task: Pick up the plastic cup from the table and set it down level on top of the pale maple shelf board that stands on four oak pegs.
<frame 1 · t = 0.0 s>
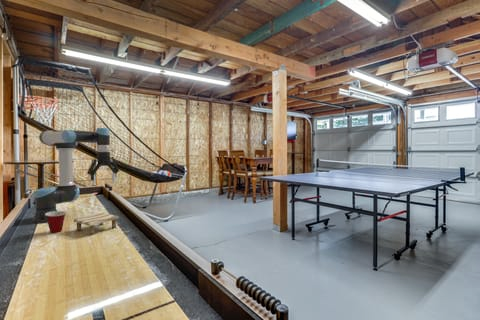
hand: (104, 183, 165), 28 cm above the table, tool pointing down, fingers open, 13 cm apart
plastic cup: (56, 232, 154), on the table
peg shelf: (96, 229, 159), on the table
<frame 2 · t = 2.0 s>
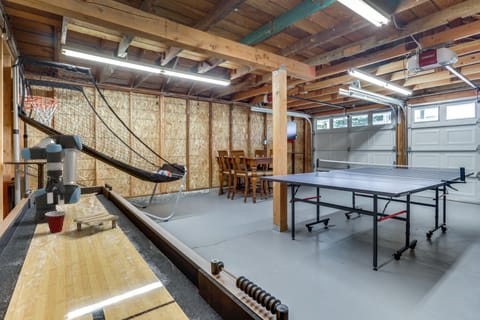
hand: (55, 204, 153), 17 cm above the table, tool pointing down, fingers open, 13 cm apart
nothing on the table moved.
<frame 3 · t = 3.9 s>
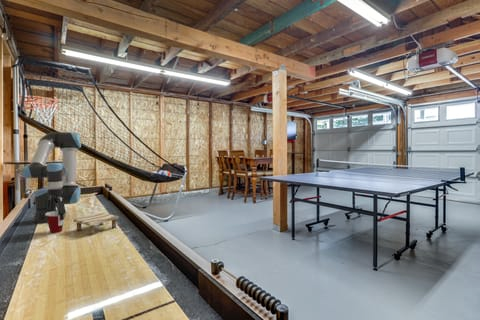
hand: (56, 223, 154), 5 cm above the table, tool pointing down, fingers closed on plastic cup, 11 cm apart
plastic cup: (56, 232, 154), on the table, touching gripper
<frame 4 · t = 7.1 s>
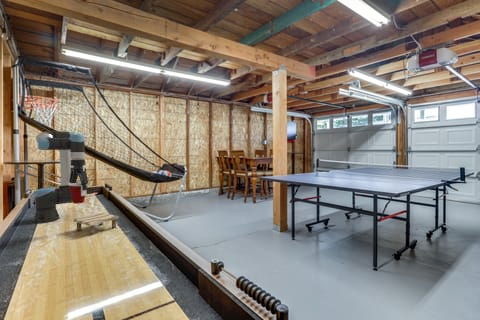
hand: (79, 194, 155), 23 cm above the table, tool pointing down, fingers closed on plastic cup, 11 cm apart
plastic cup: (79, 203, 155), point 17 cm above the table, touching gripper
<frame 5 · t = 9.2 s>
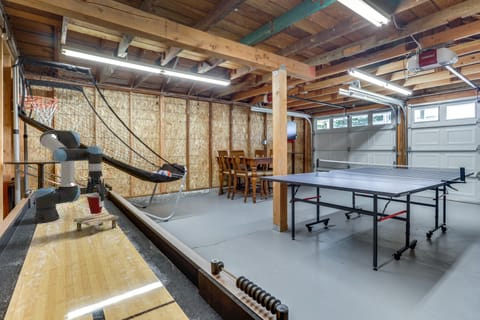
hand: (96, 205, 158), 15 cm above the table, tool pointing down, fingers closed on plastic cup, 11 cm apart
plastic cup: (96, 213, 158), point 10 cm above the table, touching gripper
when the fingers open (13 cm above the table, at t = 10.7 s): plastic cup stays where it is, resting on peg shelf.
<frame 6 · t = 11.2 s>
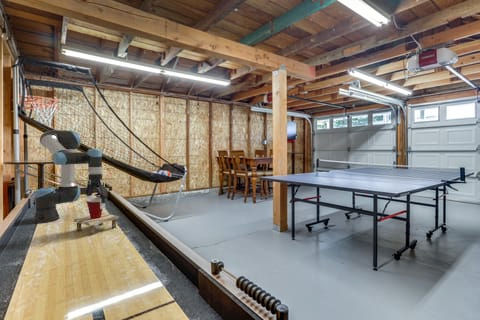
hand: (96, 207, 158), 14 cm above the table, tool pointing down, fingers open, 13 cm apart
plastic cup: (96, 218, 158), point 7 cm above the table, touching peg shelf
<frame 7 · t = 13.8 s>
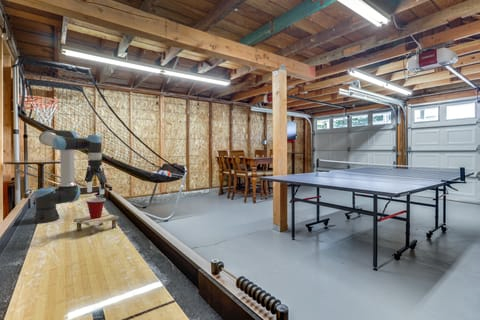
hand: (95, 193, 158), 23 cm above the table, tool pointing down, fingers open, 13 cm apart
nothing on the table moved.
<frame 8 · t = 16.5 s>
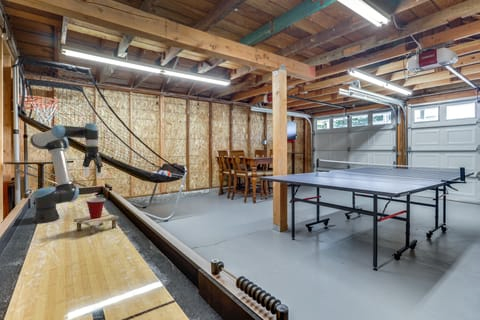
hand: (92, 176, 173), 32 cm above the table, tool pointing down, fingers open, 13 cm apart
nothing on the table moved.
at the end: plastic cup inside the target area on the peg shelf (0.2 cm from its centre), point 7.3 cm above the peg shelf's base; plastic cup tilted 0°; the gripper is holding nothing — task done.
